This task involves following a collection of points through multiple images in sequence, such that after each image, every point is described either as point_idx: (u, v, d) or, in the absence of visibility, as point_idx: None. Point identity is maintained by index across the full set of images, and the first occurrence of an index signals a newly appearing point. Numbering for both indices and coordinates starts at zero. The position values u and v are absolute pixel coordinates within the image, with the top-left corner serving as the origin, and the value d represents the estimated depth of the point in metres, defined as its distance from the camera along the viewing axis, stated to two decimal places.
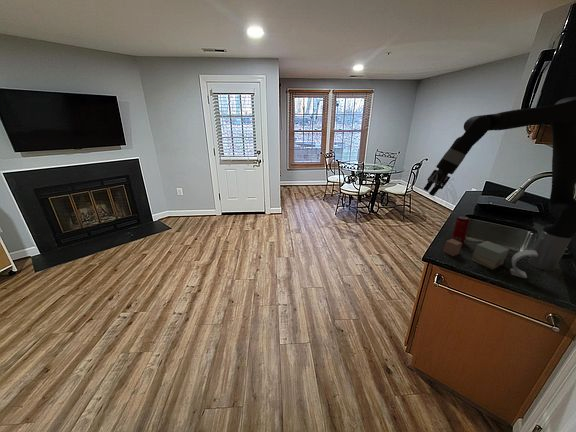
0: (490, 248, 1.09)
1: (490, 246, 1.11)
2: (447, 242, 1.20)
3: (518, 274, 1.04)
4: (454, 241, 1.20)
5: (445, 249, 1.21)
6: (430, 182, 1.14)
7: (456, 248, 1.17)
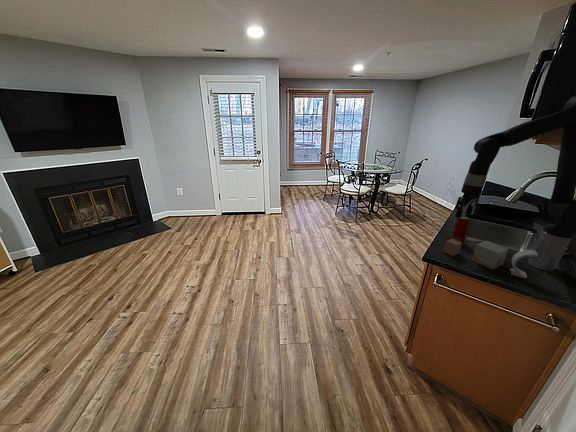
0: (490, 248, 1.09)
1: (489, 246, 1.11)
2: (447, 242, 1.20)
3: (518, 274, 1.04)
4: (454, 241, 1.20)
5: (445, 249, 1.21)
6: (469, 206, 1.14)
7: (456, 248, 1.17)
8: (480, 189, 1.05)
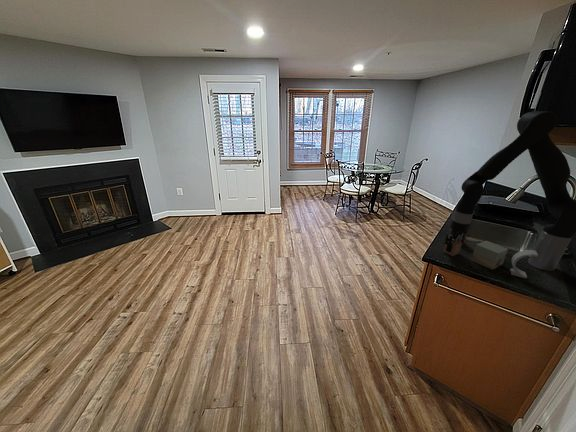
0: (489, 248, 1.09)
1: (489, 246, 1.11)
2: None
3: (518, 274, 1.04)
4: None
5: (445, 249, 1.21)
6: None
7: (456, 247, 1.17)
8: (467, 226, 1.12)
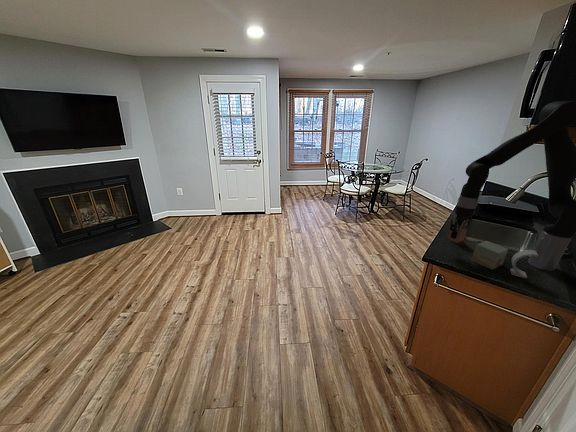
0: (490, 248, 1.09)
1: (489, 246, 1.11)
2: None
3: (518, 274, 1.04)
4: None
5: (450, 236, 1.18)
6: None
7: (461, 234, 1.14)
8: (472, 211, 1.09)
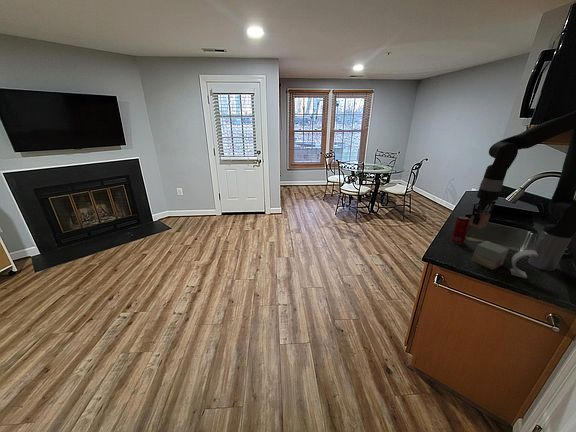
0: (491, 248, 1.09)
1: (490, 246, 1.11)
2: None
3: (518, 274, 1.04)
4: None
5: (471, 222, 1.12)
6: None
7: (484, 219, 1.07)
8: (497, 194, 1.02)
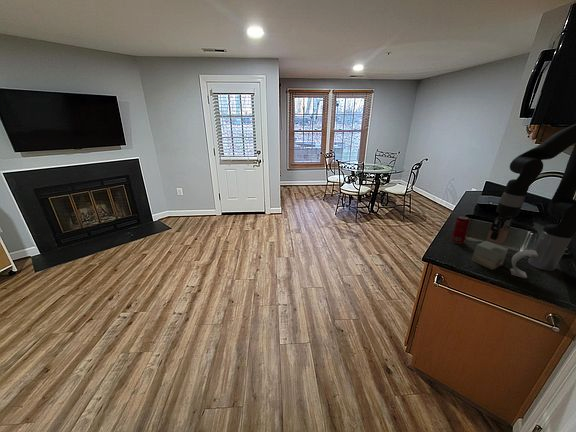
0: (490, 248, 1.09)
1: (490, 246, 1.11)
2: None
3: (518, 274, 1.04)
4: None
5: (489, 236, 1.09)
6: None
7: (503, 234, 1.05)
8: (518, 210, 1.00)
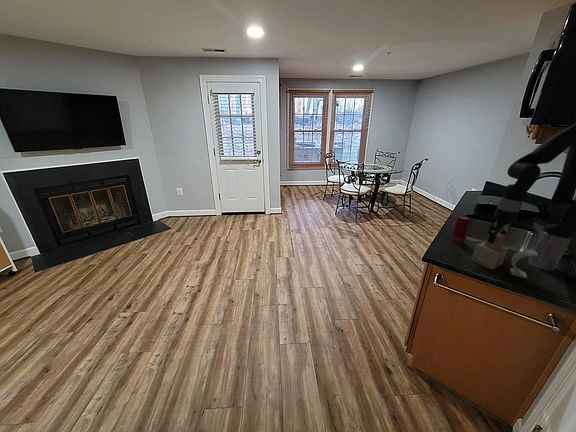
0: (489, 248, 1.09)
1: None
2: None
3: (518, 274, 1.04)
4: None
5: (487, 242, 1.11)
6: (502, 230, 1.10)
7: (500, 241, 1.06)
8: (516, 215, 1.01)
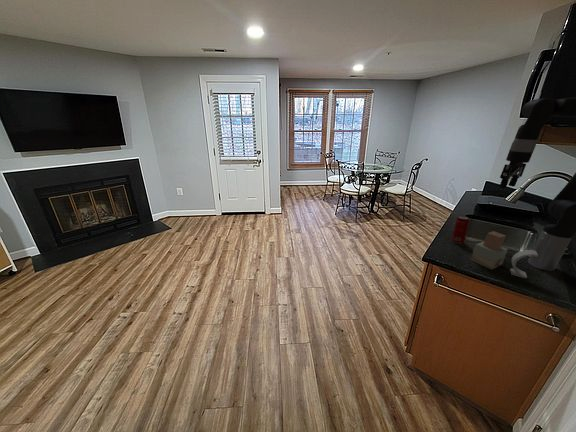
0: (489, 248, 1.09)
1: None
2: (488, 234, 1.09)
3: (518, 274, 1.04)
4: (496, 233, 1.09)
5: (486, 242, 1.11)
6: (514, 176, 1.07)
7: (499, 240, 1.06)
8: (529, 155, 0.98)
